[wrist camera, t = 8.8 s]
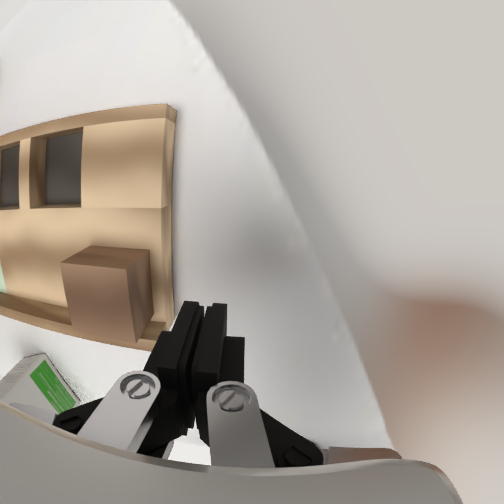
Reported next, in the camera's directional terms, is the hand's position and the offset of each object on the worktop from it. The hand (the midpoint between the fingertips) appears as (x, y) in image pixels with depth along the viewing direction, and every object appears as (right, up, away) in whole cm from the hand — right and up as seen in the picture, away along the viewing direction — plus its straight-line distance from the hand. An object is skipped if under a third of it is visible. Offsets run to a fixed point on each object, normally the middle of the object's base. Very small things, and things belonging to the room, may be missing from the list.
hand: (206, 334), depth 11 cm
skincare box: (-24, -13, +15) cm, 32 cm away
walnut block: (-8, +1, +8) cm, 11 cm away
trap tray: (-16, +6, +9) cm, 20 cm away
